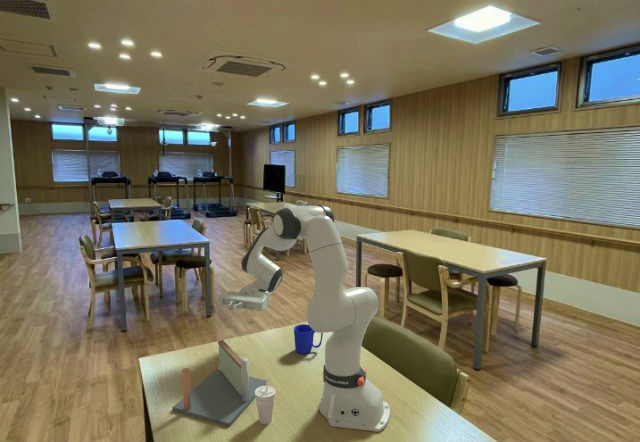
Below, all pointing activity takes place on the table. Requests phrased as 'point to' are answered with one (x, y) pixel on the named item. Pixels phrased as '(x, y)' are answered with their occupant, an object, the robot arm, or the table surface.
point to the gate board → (218, 396)
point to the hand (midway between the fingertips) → (231, 308)
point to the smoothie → (265, 402)
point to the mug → (304, 338)
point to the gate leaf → (230, 365)
